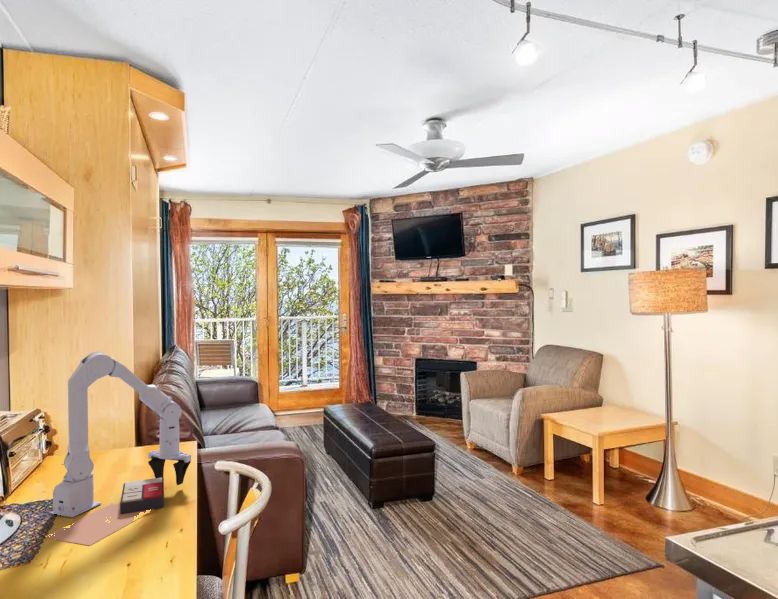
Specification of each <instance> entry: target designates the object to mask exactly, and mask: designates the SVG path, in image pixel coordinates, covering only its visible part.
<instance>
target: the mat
mask: <svg viewBox="0 0 778 599" xmlns="http://www.w3.org/2000/svg"><path fill="white" fill-rule="evenodd" d="M140 512H144V513H145V512H146V510H144V511H138V512H131V513H125V514H120V504H116V503H109V504H107V505H106V506H104V507H102V508H100V509H98V510H95V511H93V512H92V513H89V514H88V515H85V516H83V517H81V518H79V519H77V520H75V521H73V522H74V524H73V525H72V524H71V523H70V524H71V526H70V528H62V527H61V528H58V529H59V530H58V529H57V530H54V531H55V532H54V531H52V532H50V533H49V534H51V533H52V534H53V535H52V536H51V535H49V536H50V537H49V536H48V534H46V535H47V537H46V538H45V539H47V538H49V540H53V539H56V540H55V541H59V540H61V541H60V542H64V541H66V542H65V543H70V542H71V543H70V544H74V545H75V544H76V545H81V544H82V546H88V547H91V546H93V545H94V544H96V543H98V542H100V541H101V539H102V540H104V539H106V538H107V537H109V536H111V535H112V534H114V533H116V532H117V531H119V530H121V528H122V529H124V528H125V527H127V526H129V525H130V523H131V524H133V523H134V522H133V520H134V516H136V517H137V515H139V513H140ZM106 517H107V518H106ZM110 517H111V518H110ZM107 519H108V520H109V521H110V523H108V522H109V521H107V522H105V521H106V520H107ZM128 524H129V525H128ZM64 529H65V530H64ZM54 533H55V534H54ZM54 535H55V536H54ZM92 544H93V545H92ZM90 545H91V546H90Z"/></svg>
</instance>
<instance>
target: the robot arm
mask: <svg viewBox="0 0 778 599" xmlns="http://www.w3.org/2000/svg"><path fill="white" fill-rule="evenodd" d="M106 376H108V377H112V378H119V379H120V380H121V381H123V382H124V383H126V384H127V385H128V386H129V387H131V388H132V389H133V390H134V391H136V392H137V393H138V399H139V401H141V402H142V403H143V404H145V405H146V406H147V407H148V408H150V409H151V410H152V411H153V412H155V413H156V414H157V416H159V450H150V451H149V452H148V453H147V454H148V459H150V460H149V461H147V462H148V463H147V464H148V466H149V467H150V469H151V470H152V473H153V475H154V478H164V472H165V471H164V469H165V462H166V460H167V461H175V463H173V464H172V465H173V466H172V467H173V468H174V472H175V482H176V486H180V485H182V484H183V483H184V481H185V475H186V473H187V470H188V468H189V465H190V464H191V463H192V454H191V453H190V454H188V453H185V452H183V451H181V449H180V418H181V416H182V414H183V410H182V408H181V406H180V404H178V403H176V402H175V401H174V400H173V397H172V396H171V395H167V394H166V393H165V392H163V391H162V390H161V389H162V387H161V386H159V385H158V384H157V385H155V384H146V383H145V382H144V381H143V380H141V379H140V378H139V377H138V376H137V375H136V374H135V373H134V372H133V371H131V370H130V369H129V368H128V367H127V366H125V365H124V364H122V363H120V362H119V361H117V360H115V359H114V358H112V357H111V356H110V355H108V354H105V353H104V352H101V351H94V352H91V353H89V354H87V355H86V356H85V357H84V358H82V359H81V360H80V362H79V364H78V365H77V367H76V369H75V370H74V371H73V372H72V375H71V376H70V377H69V379H68V380H67V381H68V382H67V403H68V404H67V405H68V406H67V407H68V408H67V412H68V413H67V414H68V415H67V416H68V418H67V420H68V421H67V422H68V424H67V425H68V445H67V453H66V455H65V457H64V460H63V465H64V468H65V469H66V473H65V474H64V476H63V480H62V481H61V482H60V483H59V484H57V485H55V486H54V488H53V490H52V511H51V512H50V514H51V513H52V514H51V515H54V514H57V515H56V516H60V515H61V516H62V517H68V518H74V517H76V516H79V515H80V514H83V513H84V512H87V511H90V510H91V509H93V508H95V507H98V506H99V505H101V504H102V502H101V501H97V500H96V501H95V499H94V493H95V492H94V489H95V488H94V472H93V471H94V467H95V465H94V462H93V460H92V458H91V457H90V456H91V455H90V447H89V446H90V445H89V411H88V410H89V402H88V401H89V400H88V399H89V398H88V395H89V393H88V390H89V387H90V386H91V385H92V384H93V383H95V382H96V381H98V380H99V379H101V378H104V377H106ZM176 461H177V462H176ZM61 516H60V517H61Z"/></svg>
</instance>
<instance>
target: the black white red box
mask: <svg viewBox="0 0 778 599" xmlns="http://www.w3.org/2000/svg"><path fill="white" fill-rule="evenodd" d="M164 479H165V478H164V477H163V478H155V477H154V478H147V479H141V480H133V481H126V482H124V483H123V485H122V490H121V491H122V492H121V498H120V504H119V505H120V514H125V513H131V512H138V511H144V510H150V509H152V510H155V509H162V508H164V506H165V489H164V488H165V486H164V485H165V480H164Z"/></svg>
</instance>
